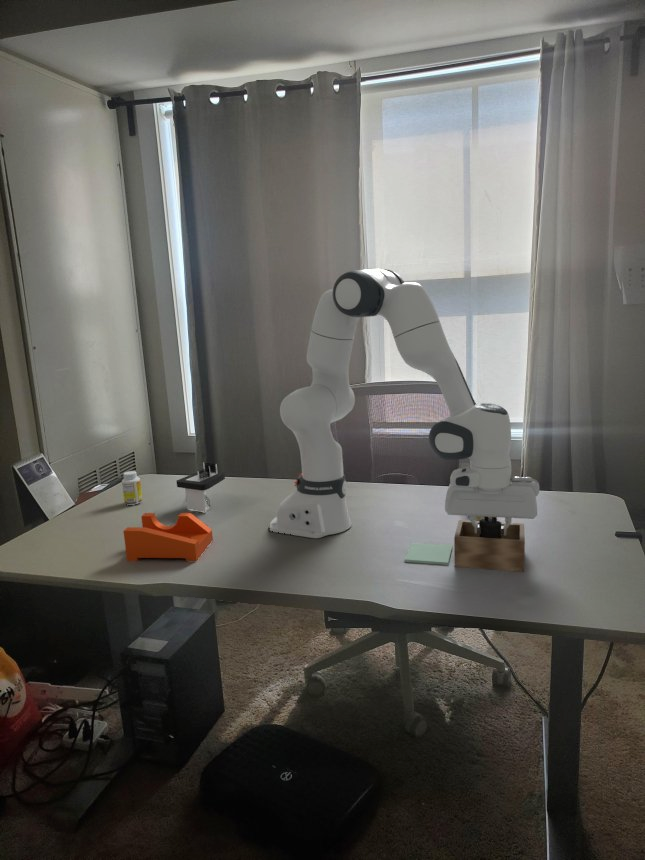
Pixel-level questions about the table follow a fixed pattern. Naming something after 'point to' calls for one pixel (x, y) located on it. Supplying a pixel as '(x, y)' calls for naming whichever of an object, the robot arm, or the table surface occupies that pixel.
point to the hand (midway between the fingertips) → (490, 533)
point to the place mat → (429, 553)
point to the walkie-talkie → (490, 528)
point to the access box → (489, 548)
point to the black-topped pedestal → (200, 486)
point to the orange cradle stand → (167, 538)
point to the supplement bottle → (131, 488)
